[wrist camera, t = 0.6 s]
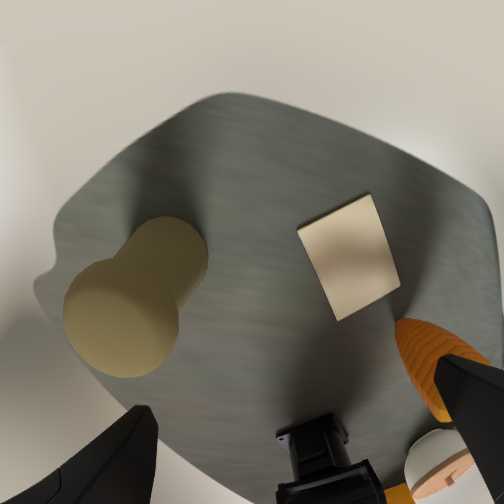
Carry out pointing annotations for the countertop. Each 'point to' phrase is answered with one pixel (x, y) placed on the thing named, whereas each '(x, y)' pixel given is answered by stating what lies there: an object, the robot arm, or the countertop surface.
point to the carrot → (429, 357)
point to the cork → (135, 298)
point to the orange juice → (399, 495)
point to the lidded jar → (436, 462)
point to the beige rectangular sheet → (351, 256)
